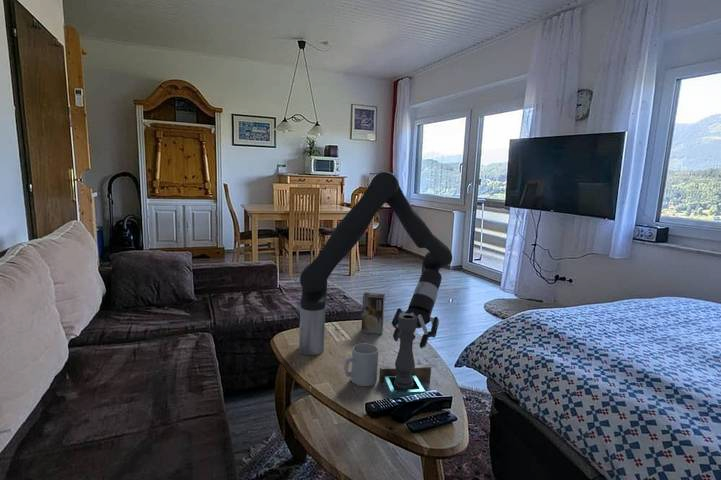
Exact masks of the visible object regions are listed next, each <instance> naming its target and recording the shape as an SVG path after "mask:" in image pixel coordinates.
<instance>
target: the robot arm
mask: <svg viewBox="0 0 721 480" xmlns="http://www.w3.org/2000/svg"><path fill="white" fill-rule="evenodd" d="M384 204H387V205H388V206H389V207H390V208H391V210H392V211H393V213H394V214H395V215H396V216H397V218H398V221H400V223H401V225H402V227H403V228H404V229H403V230H405V232H406V233H407V234H408V236H409V238H410V239H411V240H412V242H413V243H414V245H415V246H416V248H418V249H426V250H428V252H427V253H426V254H425V256H424V258H423V260H422V263H421V265H422V266H421V273H420V277H419V280H418V282H417V285H416V287H415V289H414V291H413V294H412V296H411V299H410V302H409V304H408V309H406V311H405V310H402V309H401V308H397V310H396V312H395V314H394V317H393V318H392V321H391V325H392V327H393V328H395V329H394V331H393V334H392V338H393V340H394V342H398V340H399V339H400V338H399V337H398V335H399V333H401V332H400V330H399V327H398V319H399V315H400V314H413V315H415V316H417V328H416V329H418V330H419V329H422V331H423V333H424V334H422V337H421V340H420V342H419V348H420V349H423V348H425V347H426V346H427V343H428V340H429V338H433V339H435V338H436V336H437V331H438V328H439V325H440V324H439V323H440V319H439V317H438V316H434V317H432V316H431V315H432V313H433V309H434V305H435V304H436V302H437V297H438V293H439V289H440V286H441V284H442V278H443V277H442V274H441V273H440V270H441V269H443V268H445V267H447V266H449V265H451V263H452V262H453V253H452V251H451V250H450V248H449V247H448V246H447V245H446V244H445V243H444V242H443V241H442V240H441V239H439V238H438V237H437V236H436V235H434V234H433V232H432V231H431V229H430V228H429V226H428V225H427V224H426V222H425V221H424V220H423V219H422V217H421V216H420V215H419V213H418V212H416V210H415V209H414V208H413V207H412V205H411V203H410V202H409V201H408V199H407V197H406V196H405V194H404V193H403V190H402V188H401V186H400V183H399V180H398V178H397V177H396V176H395V175H394V174H393V173H392V172H390V171H380V172H378V173H377V174H376V175H374V177H373V178H372V180H371V182H370V183H369V185H368V187H367V188H366V190H365V191H364V193H363V194H362V196H361V197H360V198H359V200H358V202H356V204H355V205H354V206H353V207H352V208H351V209H350V210H349V211H348V212H347V213H346V215H345V216H344V217H343V218H342V220H341V221H340V222H339V223H338V225H337V226H336V227H335V228H334V230H333V231H332V232H331V234H330V235H329V238H328V239H327V241H326V243H325V244H324V246H323V247H322V250H321V251H320V252H319V253H318V255H317V256H316V258H315V259H314V260H313V261H312V262H311V263H309V264H307V265H306V266H304V269H303V270H302V271H301V273H300V277H299V282H300V286H301V288H302V290H301V297H300V308H299V309H300V310H299V311H300V313H299V314H300V316H299V335H298V337H299V339H298V340H299V341H298V353H299V354H300V355H306V356H316V355H317V356H318V355H320V354H322V353H324V350H325V329H326V327H325V325H326V305H327V304H326V302H327V294H328V293H327V292H328V291H327V290H328V278H329V277H330V276H331V274H332V273H333V271H334V269H336V267H337V265H339V263H340V262H342V260H343V259H344V258H345V257H346V256H348V254H349V253H350V252H351V250H352V249H353V248H354V247H355V246H356V245H357V243H358V242H359V241H360V240H361V238H362V237H363V236H364V234H365V233H366V231H367V230H368V228H369V226H370V224H371V222H372V220H373V218H374V217H375V215H376V214H377V212H378V211H379V210H380V209H381V208H382V207H383V206H384ZM430 322H431V328H430V331H428V328H427V324H429V323H430Z"/></svg>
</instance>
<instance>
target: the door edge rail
mask: <svg viewBox="0 0 721 480" xmlns="http://www.w3.org/2000/svg"><path fill="white" fill-rule="evenodd" d="M432 369H433V368H432V366H431V365H430V364H429V363H428V364H423V365H417V364H415V368H414V370H413V372H412V374H415V375H416V377H417V378H418V380H419V382H420V383H430V382H431V375H432ZM397 374H398V373H397V370H396V367H395V364H393V365H379V374H378V375H379V377H378V378H379V379H378V383H379V385H383V381H384V375H397Z"/></svg>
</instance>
